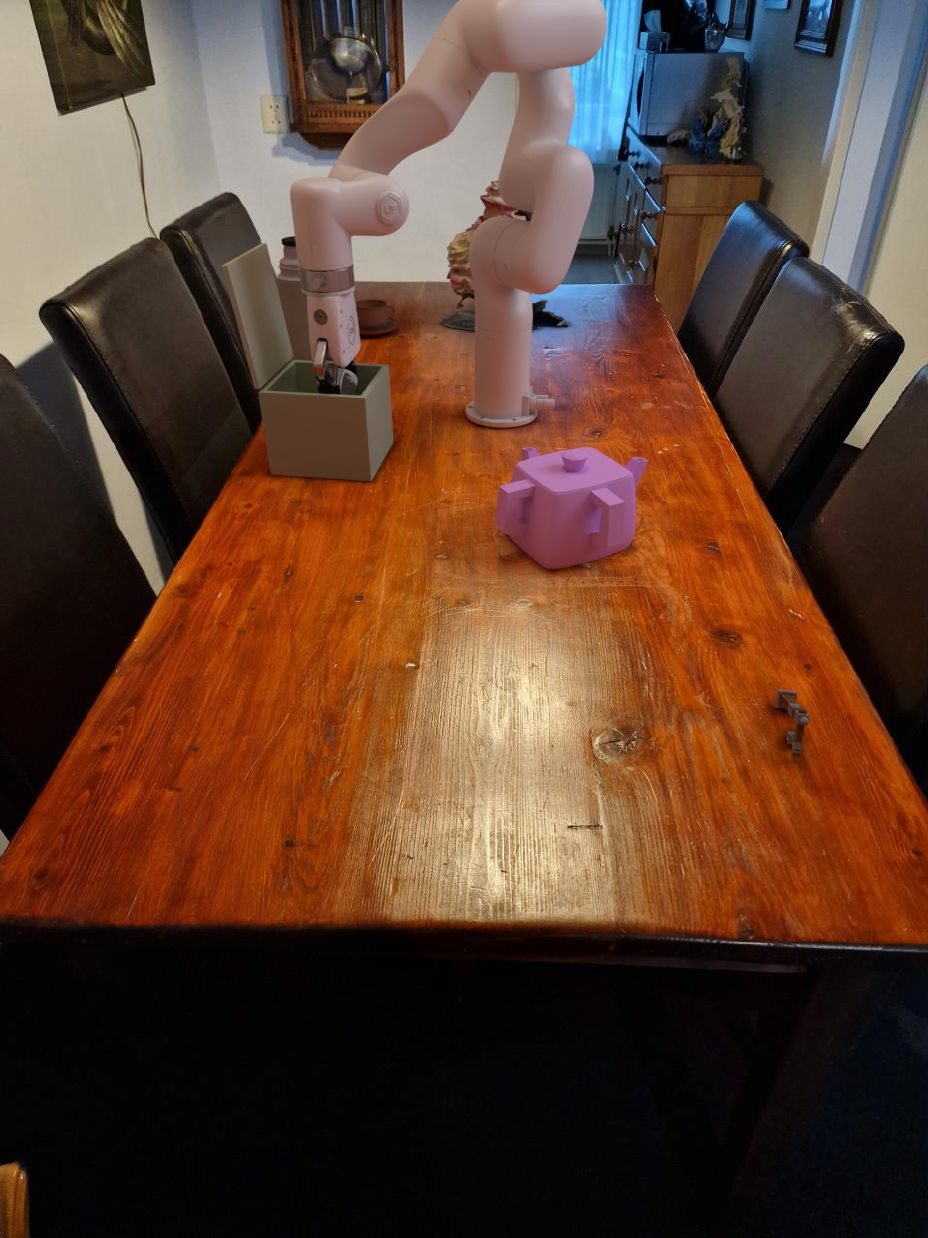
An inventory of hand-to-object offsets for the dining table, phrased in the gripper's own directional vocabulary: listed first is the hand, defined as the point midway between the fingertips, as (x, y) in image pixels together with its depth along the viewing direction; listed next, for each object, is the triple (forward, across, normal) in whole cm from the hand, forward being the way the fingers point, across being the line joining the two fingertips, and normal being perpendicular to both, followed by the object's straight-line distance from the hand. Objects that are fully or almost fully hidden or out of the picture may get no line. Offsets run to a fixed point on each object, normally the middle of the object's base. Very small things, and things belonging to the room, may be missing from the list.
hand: (339, 399), depth 124 cm
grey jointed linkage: (+10, -54, -59) cm, 81 cm away
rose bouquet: (+10, +80, -14) cm, 82 cm away
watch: (+7, 0, 0) cm, 7 cm away
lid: (-12, 0, +10) cm, 16 cm away
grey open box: (+10, 0, +2) cm, 10 cm away
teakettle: (+10, -20, -36) cm, 43 cm away
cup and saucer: (+10, +68, +13) cm, 70 cm away
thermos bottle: (+10, +22, +12) cm, 27 cm away
